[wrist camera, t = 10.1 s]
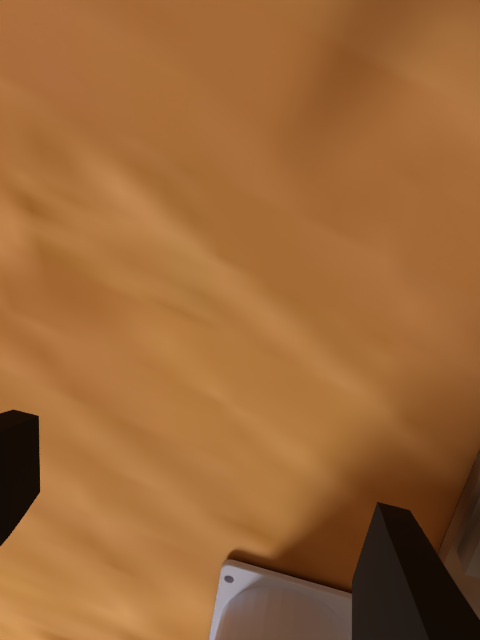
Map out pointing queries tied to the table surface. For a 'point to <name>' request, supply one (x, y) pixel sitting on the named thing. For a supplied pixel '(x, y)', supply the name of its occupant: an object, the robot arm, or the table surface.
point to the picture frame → (465, 541)
